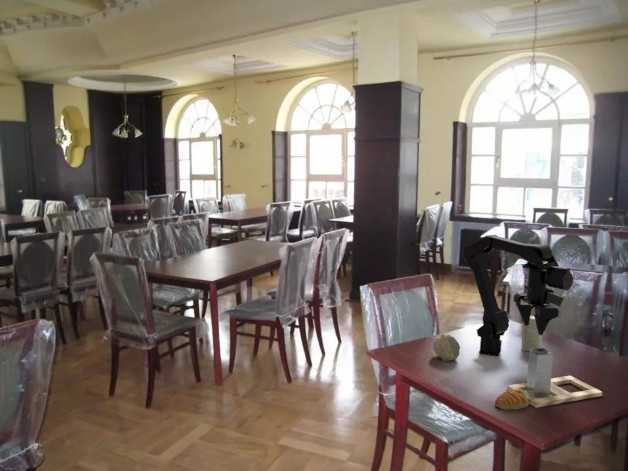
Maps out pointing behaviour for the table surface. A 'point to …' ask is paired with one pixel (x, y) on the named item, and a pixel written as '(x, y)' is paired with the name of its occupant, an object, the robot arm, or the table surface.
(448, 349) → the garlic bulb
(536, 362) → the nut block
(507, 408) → the pastry
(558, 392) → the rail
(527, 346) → the skincare box
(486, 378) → the table surface
